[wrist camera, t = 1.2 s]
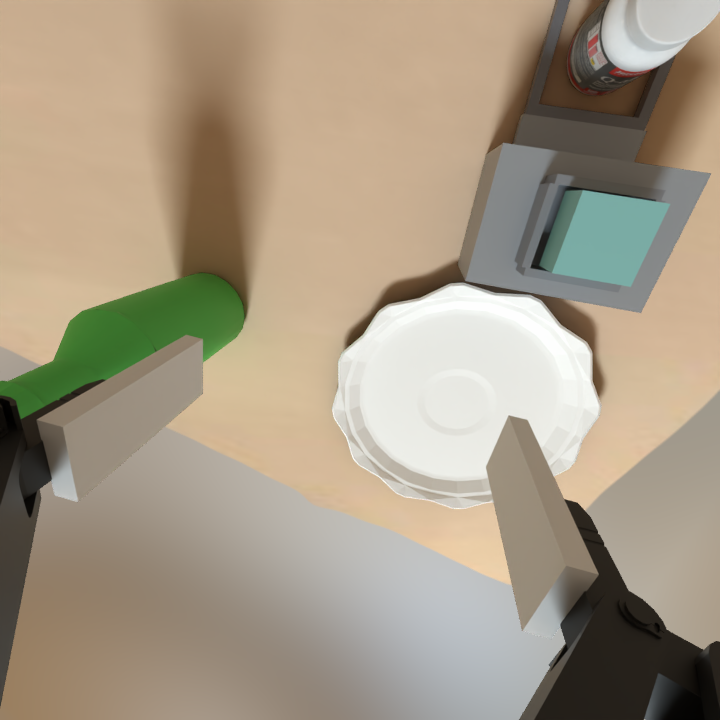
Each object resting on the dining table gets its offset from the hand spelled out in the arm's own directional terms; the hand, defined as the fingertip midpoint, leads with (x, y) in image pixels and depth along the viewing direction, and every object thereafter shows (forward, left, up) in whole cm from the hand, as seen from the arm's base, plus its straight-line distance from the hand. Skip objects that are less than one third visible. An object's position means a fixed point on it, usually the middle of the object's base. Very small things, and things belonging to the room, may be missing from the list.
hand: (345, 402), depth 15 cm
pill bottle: (-21, +13, -26) cm, 36 cm away
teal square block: (-8, +13, -16) cm, 22 cm away
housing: (-14, +13, -26) cm, 32 cm away
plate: (+13, +10, -27) cm, 32 cm away
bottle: (+7, -21, -26) cm, 34 cm away
